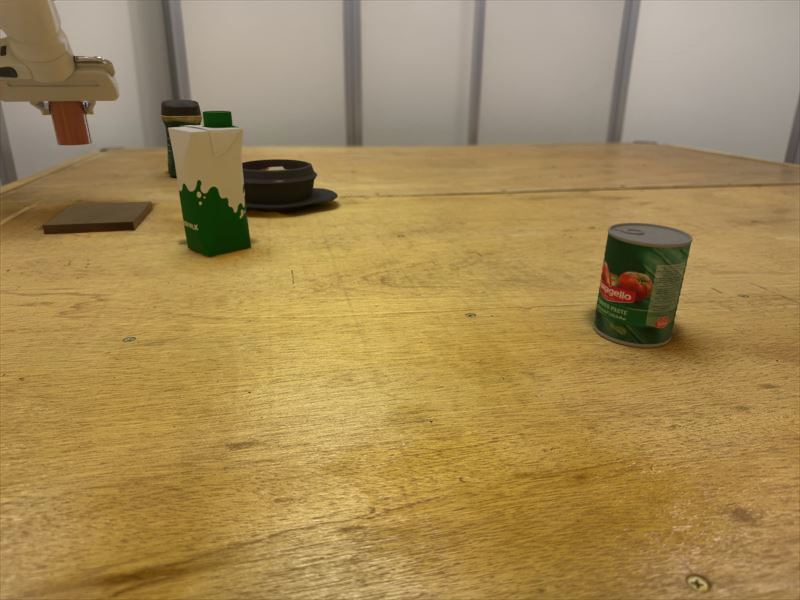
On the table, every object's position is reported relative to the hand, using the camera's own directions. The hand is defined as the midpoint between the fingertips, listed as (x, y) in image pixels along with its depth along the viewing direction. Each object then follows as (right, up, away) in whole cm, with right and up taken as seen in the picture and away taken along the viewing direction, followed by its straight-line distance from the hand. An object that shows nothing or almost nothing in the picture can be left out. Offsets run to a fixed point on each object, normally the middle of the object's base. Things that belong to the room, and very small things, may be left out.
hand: (68, 112), depth 108 cm
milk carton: (+37, -29, -22) cm, 52 cm away
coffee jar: (+10, -4, +36) cm, 37 cm away
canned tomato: (+90, -40, -48) cm, 110 cm away
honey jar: (0, -6, +2) cm, 6 cm away
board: (+11, -22, -8) cm, 26 cm away
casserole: (+40, -18, +4) cm, 44 cm away
